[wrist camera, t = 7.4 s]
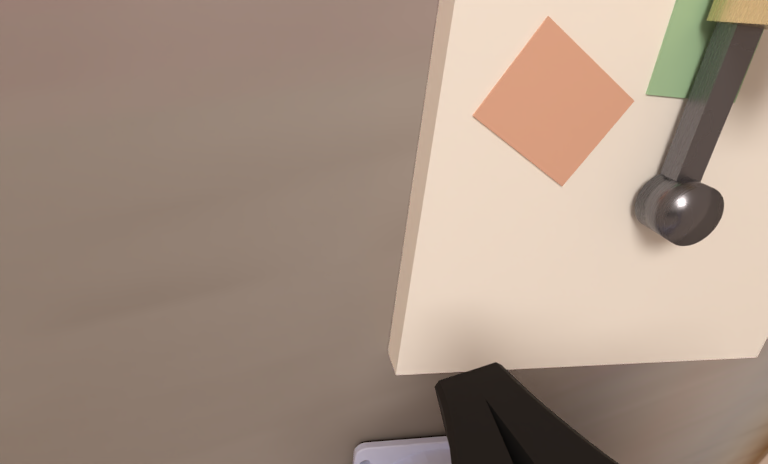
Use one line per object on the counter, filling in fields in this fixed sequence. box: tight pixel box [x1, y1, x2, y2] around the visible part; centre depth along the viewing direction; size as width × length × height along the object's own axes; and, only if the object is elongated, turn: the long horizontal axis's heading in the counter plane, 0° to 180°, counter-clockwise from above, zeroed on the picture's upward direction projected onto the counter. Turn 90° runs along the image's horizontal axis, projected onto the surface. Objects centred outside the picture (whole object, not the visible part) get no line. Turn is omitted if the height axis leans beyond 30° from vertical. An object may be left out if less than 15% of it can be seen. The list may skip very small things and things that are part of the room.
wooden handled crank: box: [635, 0, 768, 246], centre depth 15 cm, size 9×2×5 cm, turn 172°
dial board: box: [388, 0, 768, 375], centre depth 19 cm, size 16×18×2 cm
